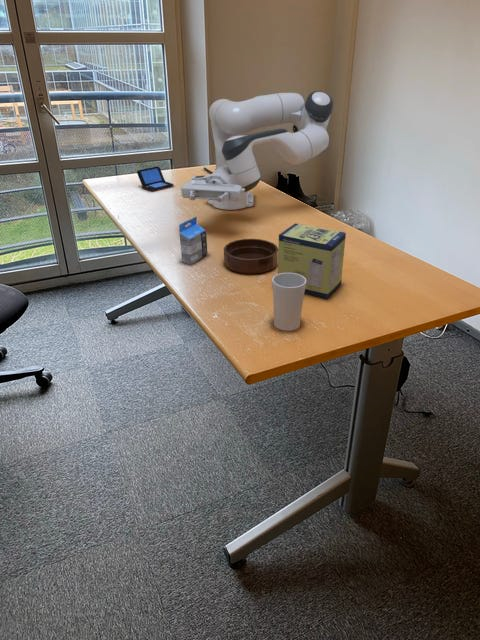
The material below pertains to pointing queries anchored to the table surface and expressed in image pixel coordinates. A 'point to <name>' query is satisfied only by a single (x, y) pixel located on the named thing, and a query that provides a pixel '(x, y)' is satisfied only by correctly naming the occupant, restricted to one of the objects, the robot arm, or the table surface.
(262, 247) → the bowl
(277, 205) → the table surface
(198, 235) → the label tape box
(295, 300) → the cup
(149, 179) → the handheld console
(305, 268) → the protein box
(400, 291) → the table surface
